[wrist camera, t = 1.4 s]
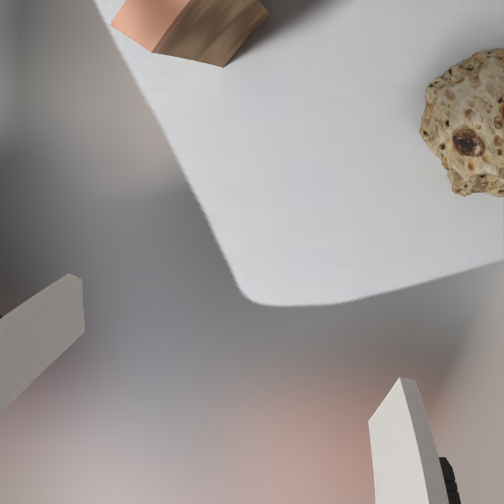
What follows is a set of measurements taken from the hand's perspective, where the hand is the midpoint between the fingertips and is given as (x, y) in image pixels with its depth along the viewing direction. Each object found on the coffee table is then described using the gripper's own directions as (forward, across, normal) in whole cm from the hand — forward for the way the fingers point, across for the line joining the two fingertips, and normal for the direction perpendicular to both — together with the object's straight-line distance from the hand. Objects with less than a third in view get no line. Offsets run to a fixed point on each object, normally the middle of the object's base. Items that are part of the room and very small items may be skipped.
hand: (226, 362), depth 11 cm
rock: (+22, +20, +19) cm, 35 cm away
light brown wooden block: (+23, -10, +19) cm, 32 cm away
